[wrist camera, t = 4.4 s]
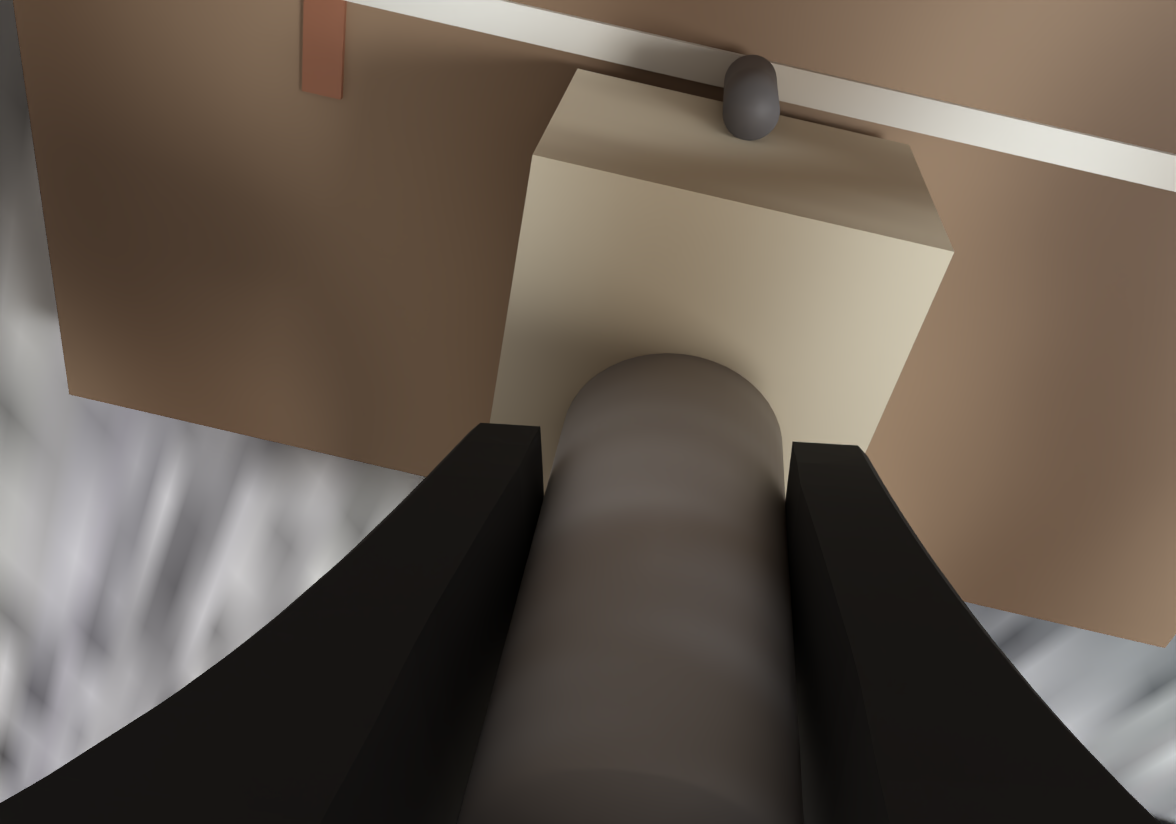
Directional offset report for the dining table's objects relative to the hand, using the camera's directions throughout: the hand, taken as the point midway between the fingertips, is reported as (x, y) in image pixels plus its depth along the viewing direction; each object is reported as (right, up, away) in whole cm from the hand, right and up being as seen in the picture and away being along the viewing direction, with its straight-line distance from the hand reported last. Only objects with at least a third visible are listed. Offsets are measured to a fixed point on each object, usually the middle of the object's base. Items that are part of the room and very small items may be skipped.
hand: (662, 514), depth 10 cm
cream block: (+1, +2, +5) cm, 6 cm away
